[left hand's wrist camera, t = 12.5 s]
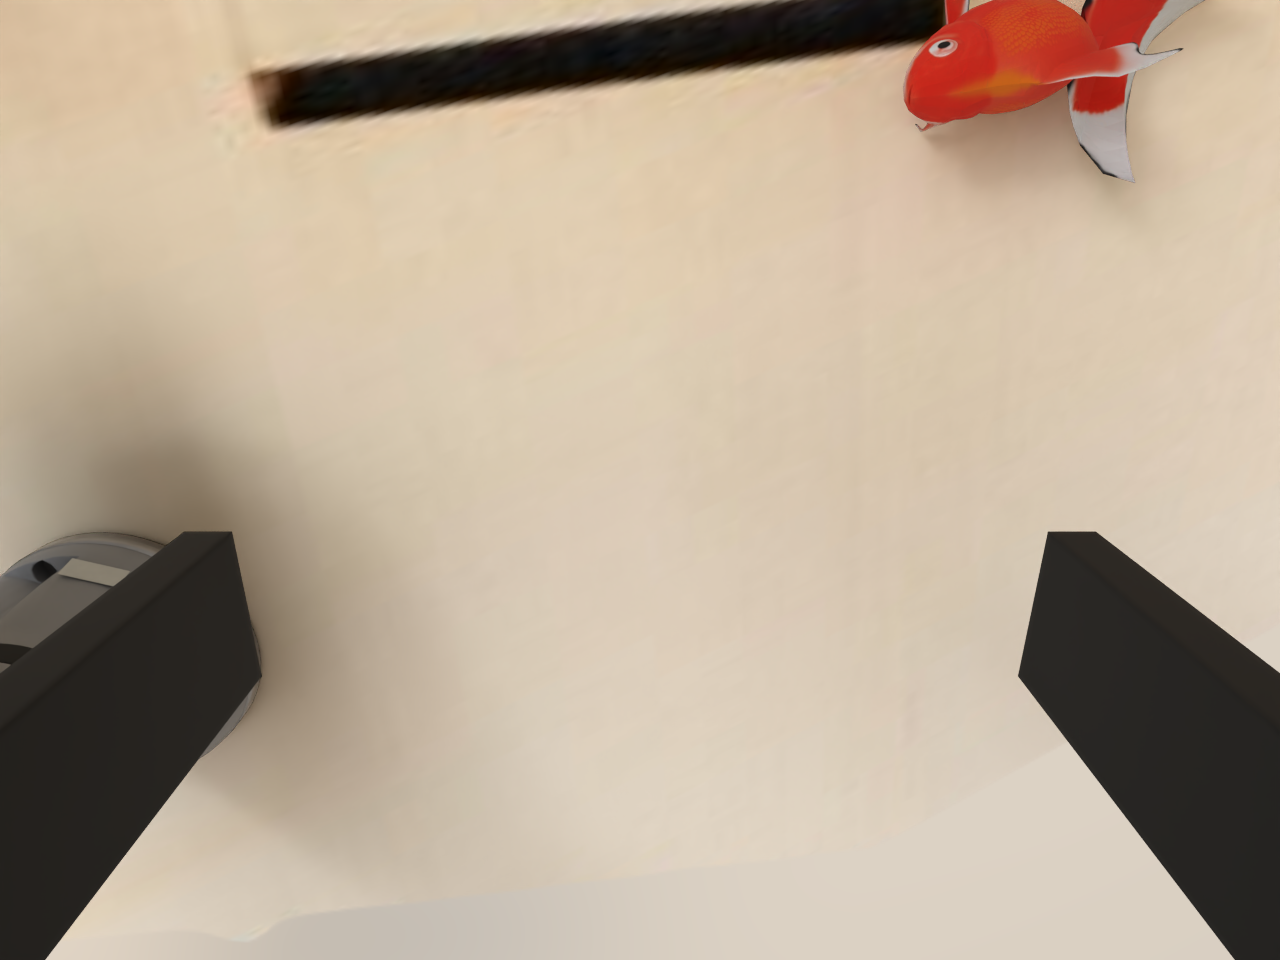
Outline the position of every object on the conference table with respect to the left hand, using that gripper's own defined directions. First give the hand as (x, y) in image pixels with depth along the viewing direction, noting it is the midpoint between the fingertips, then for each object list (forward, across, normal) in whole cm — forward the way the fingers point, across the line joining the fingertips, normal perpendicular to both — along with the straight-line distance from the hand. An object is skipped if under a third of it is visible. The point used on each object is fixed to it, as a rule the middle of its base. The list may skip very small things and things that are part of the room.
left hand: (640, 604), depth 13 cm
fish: (+29, -18, -12) cm, 36 cm away
